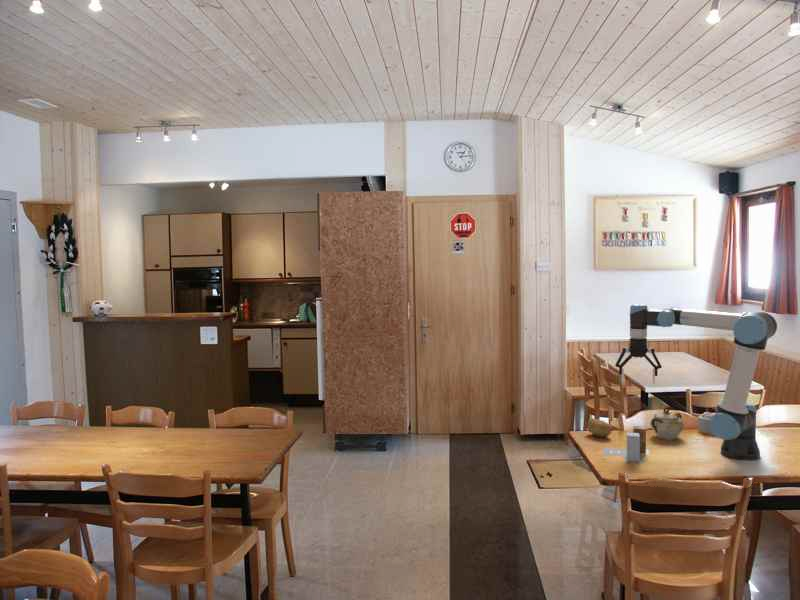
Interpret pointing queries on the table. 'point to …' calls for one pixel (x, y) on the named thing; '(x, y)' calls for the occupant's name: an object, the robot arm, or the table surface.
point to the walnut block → (641, 437)
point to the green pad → (646, 453)
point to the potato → (599, 427)
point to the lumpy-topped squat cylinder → (705, 423)
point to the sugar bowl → (667, 424)
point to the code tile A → (614, 451)
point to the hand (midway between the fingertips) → (638, 382)
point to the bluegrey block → (633, 447)
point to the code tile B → (632, 461)
